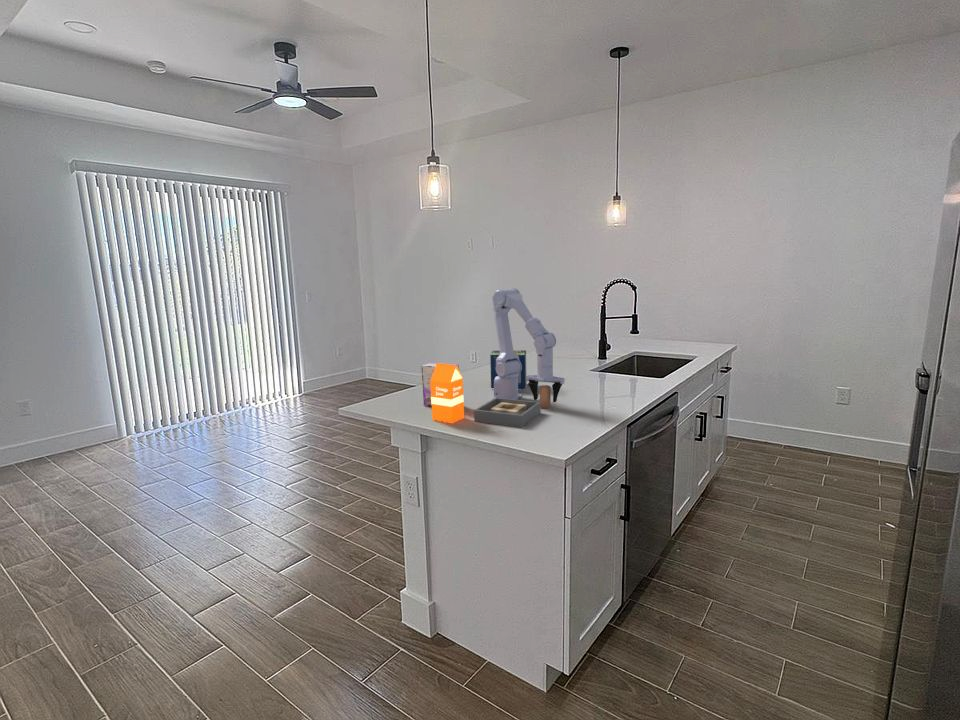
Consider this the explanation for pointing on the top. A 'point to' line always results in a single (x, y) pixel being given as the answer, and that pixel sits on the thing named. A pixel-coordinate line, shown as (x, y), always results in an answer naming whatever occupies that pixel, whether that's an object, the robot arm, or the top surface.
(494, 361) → the protein box
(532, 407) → the tray
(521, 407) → the plate
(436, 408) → the orange juice
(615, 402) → the top surface
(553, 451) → the top surface
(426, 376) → the candy box
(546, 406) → the peg
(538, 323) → the robot arm
